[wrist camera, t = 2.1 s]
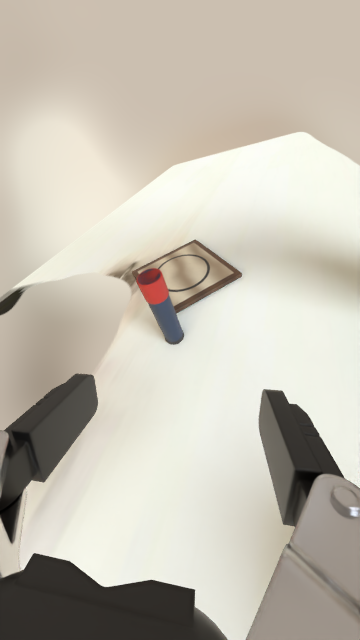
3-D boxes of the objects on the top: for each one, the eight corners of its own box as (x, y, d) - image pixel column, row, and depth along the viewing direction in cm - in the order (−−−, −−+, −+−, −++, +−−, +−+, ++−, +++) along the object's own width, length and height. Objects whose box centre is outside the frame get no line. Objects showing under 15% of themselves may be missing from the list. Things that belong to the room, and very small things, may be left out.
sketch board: (195, 242, 47) (195, 238, 47) (241, 276, 37) (242, 272, 37) (133, 274, 45) (131, 270, 44) (163, 320, 35) (162, 316, 34)
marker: (178, 325, 33) (155, 264, 24) (187, 338, 32) (166, 276, 22) (162, 334, 33) (132, 276, 24) (170, 348, 31) (141, 289, 22)
